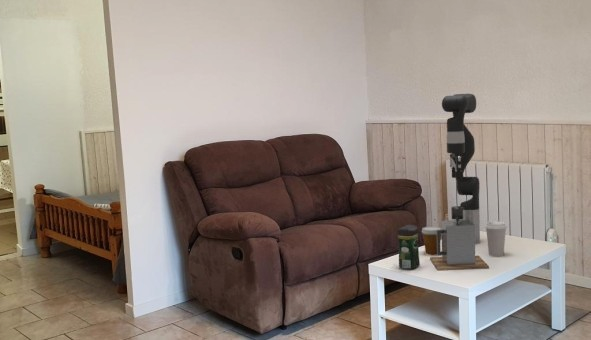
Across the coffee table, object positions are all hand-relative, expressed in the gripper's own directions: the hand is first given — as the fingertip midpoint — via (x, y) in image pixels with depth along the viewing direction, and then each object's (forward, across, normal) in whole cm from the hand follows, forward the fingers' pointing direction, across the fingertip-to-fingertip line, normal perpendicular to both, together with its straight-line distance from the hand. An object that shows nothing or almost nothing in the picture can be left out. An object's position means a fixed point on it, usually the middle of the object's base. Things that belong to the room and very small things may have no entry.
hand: (456, 178), depth 268 cm
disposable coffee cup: (+38, +20, +8) cm, 44 cm away
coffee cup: (+38, +13, -20) cm, 45 cm away
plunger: (+32, 0, 0) cm, 32 cm away
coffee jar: (+38, -2, +22) cm, 44 cm away
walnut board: (+38, 0, 0) cm, 38 cm away
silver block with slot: (+37, 0, +1) cm, 37 cm away
